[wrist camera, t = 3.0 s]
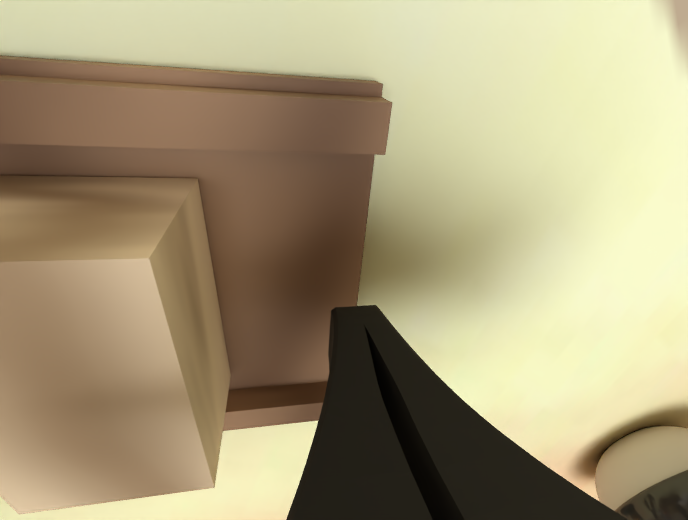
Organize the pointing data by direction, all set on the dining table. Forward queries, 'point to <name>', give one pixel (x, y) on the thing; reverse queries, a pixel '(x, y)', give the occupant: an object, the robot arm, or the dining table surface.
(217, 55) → the dining table surface
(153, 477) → the block
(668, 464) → the black penguin toy
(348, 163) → the wooden tray
